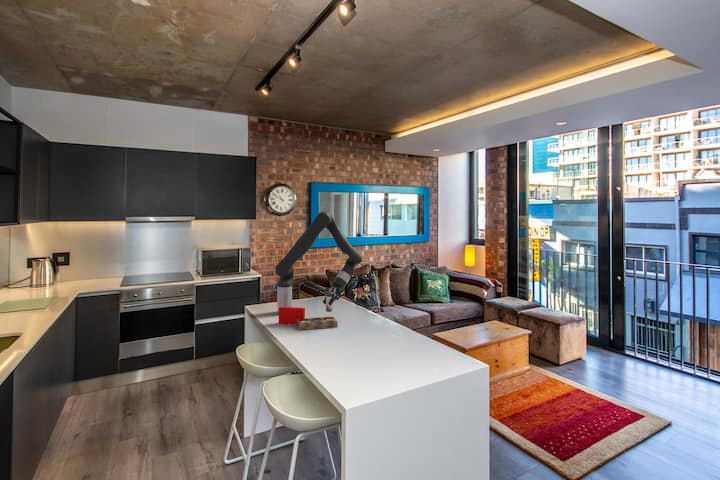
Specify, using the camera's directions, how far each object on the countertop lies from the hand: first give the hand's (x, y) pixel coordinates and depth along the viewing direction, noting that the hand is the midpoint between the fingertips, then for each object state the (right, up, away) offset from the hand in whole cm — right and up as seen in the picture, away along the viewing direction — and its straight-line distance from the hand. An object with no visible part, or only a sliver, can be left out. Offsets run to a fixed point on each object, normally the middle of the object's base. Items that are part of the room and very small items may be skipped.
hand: (326, 303), depth 216 cm
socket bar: (-5, -13, -1) cm, 14 cm away
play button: (-21, -13, +2) cm, 24 cm away
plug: (+1, -4, +2) cm, 5 cm away
